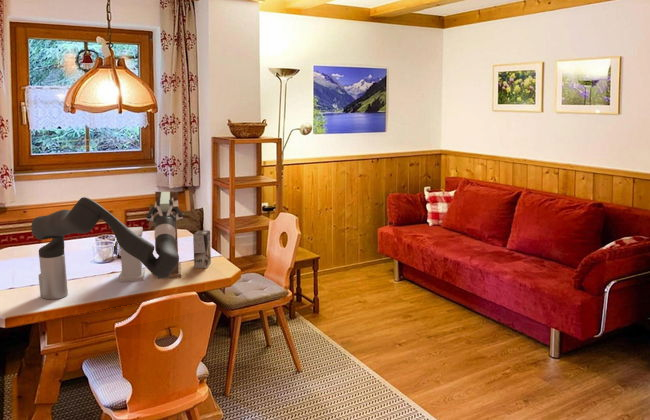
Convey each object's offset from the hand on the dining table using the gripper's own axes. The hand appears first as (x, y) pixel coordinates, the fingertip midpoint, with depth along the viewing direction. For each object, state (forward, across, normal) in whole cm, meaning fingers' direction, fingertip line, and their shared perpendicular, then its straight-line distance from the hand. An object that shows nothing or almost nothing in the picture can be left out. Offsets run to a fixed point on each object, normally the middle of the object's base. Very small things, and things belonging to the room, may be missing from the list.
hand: (164, 201), depth 227 cm
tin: (+34, +20, +65) cm, 76 cm away
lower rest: (+5, +16, +48) cm, 51 cm away
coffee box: (+14, -15, +54) cm, 57 cm away
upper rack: (+7, 0, +49) cm, 50 cm away
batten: (+5, 0, +7) cm, 8 cm away
